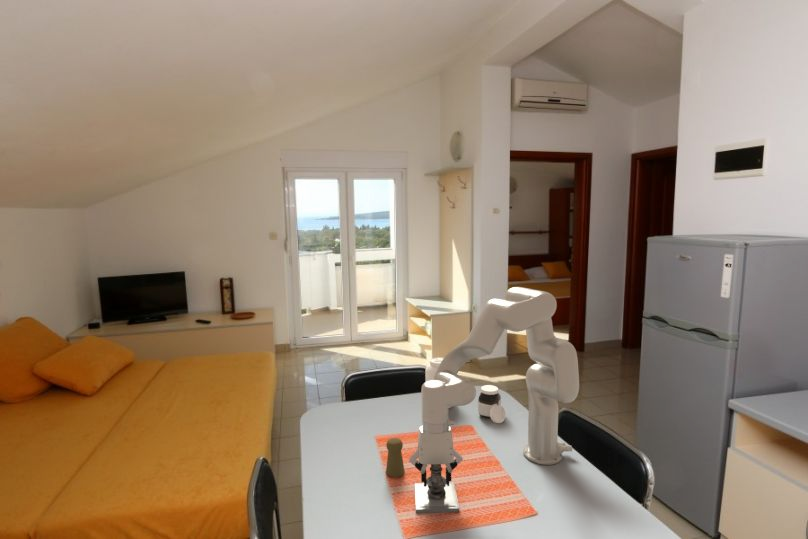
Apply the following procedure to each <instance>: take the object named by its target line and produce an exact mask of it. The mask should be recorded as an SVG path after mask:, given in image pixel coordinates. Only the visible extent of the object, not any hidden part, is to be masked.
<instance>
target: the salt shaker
mask: <svg viewBox="0 0 808 539" xmlns="http://www.w3.org/2000/svg"><path fill="white" fill-rule="evenodd" d="M429 471H430V476H429V477H427V485H428V488H429V490H428V491H427V493H428V495H429V496H430V497H432V498H442V497H444V496H445V494H446V492H445V490H444V487H445V484H446V477H444V476H443V475H442V471H443V467H442V464H431V465H430V467H429Z"/></svg>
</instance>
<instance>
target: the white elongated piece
mask: <svg viewBox="0 0 808 539" xmlns="http://www.w3.org/2000/svg"><path fill="white" fill-rule="evenodd" d="M443 358H444V357H443V356H442V357H440V356H439V357H437V356H436V357H432V358H431V359H430V360H429V363H428V364H427V365H426V368H425V373H424V374H425V382H426V381H429V380H433V379H434V376H435V373H436V371H437V369H438V367H439V365H440V364H441V362H442V360H443ZM451 408H452V407H448V409H451Z"/></svg>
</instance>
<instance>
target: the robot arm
mask: <svg viewBox="0 0 808 539" xmlns="http://www.w3.org/2000/svg"><path fill="white" fill-rule="evenodd" d="M557 306H558V305H557V299H556V298H555V296H554V295H553V294H552V293H550V292H548V291H544V290H539V289H533V288H527V287H523V286H513V287H511V288H509V289H507V291H506V292H505V299H504V298H491V299H489V300H488V301H486V303H485V304H484V306H483V309H482V310H481V312H480V314H479V315H478V318H477V319H476V322H475V323H474V325H473V327H472V328H471V331H470V332H469V335H468V336H467V337H466V339H465V340H464V341H462V342H461V343H458V344H457V345H456V346H454V348H452V349H451V350H450V351H449V352H447V354H446V355H444V357H443V360H442V362H441V364H440V365H439V367H438V369H437V371H436V373H435V376H434V379H433V380H429V381H426V380H425V382H424V383H423V384H422V385H421V392H420V393H421V419H422V420H421V426H420V427H419V430H418V435H417V437H418V438H417V449H416V450H415V451H414V452H413V453H412V454H411V455H410V456H409V463H410V464H411V465H413V466H414V468H416V469H417V470H418V471H419V472H420V476H421V477H420V478H421V481H420V482H421V483H424V487H426V486H427V478H428V477H427V467H428V465H429V466H431V464H441V465H445V479H446V484H447V486H449V483H450V482H452V473H453V471H454V470H455V468H457V467H458V465H459V464H460V463H461V462H463V458H464V457H463V456H462V455H461V454H460V453H459V452H458V450H456V448H455V447H454V439H453V431H452V427H451V426H452V425H454V422H455V421H454V419H450V418H449V408H448V407H451V408H452V407H463V406H467V405H469V404H471V403H472V402H473V401H474V400H475V398H476V395H477V389H476V386H475V384H474V383H472V382H471V381H470V380H468V379H466V378H464V377H462V376H461V375H458V374H459V372H460V370H461V368H462V367H463V366H464V365H465V364H466V363H468V362H469V361H472V360H474V359H478V358H481V357H487V356H490V355H491V354H493V352H494V351H495V349H496V347H497V345H498V343H499V341H500V339H501V337H502V335H503V333H504V331H506V330H508V331H510V332H515V333H518V332H519V333H520V332H522V331H525V335H526V336H525V337H526V345H527V353H528V356H529V358H530V359H531V360H532V361H533V362H535V363H534V364H532V365H530V366H529V367H528V369H527V371H526V374H525V383H526V387H527V394H528V424H527V425H528V430H527V431H528V432H527V433H528V434H527V439H528V440H527V444H526V445H525V446H524V447H523V452H522V453H523V456H524V457H525V458H526V459H528V461H529V462H532V463H535V464H539V465H544V466H546V465H547V466H550V465H555V464H558V463H560V462H561V461H562V459H563V452H568V453H569V452H573V447H572V445H570V444H569V445H566V442H559V441H558V440H559V439H558V436H559V432H558V431H559V430H558V429H559V428H558V427H559V403H562V404H569V403H572V402H574V401H575V400H576V399H577V397H578V395H579V391H580V376H579V363H578V362H579V361H578V354H577V353H578V352H577V350H576V348H575V346H574V345H573V344H572V342H569V341H567V340H566V339H562V338H558V337H556V336H555V334H554V327H553V320H552V317H553V316H554V315H555V313H556V310H557V308H558V307H557ZM417 459H418V460H417Z"/></svg>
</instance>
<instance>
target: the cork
mask: <svg viewBox="0 0 808 539" xmlns="http://www.w3.org/2000/svg"><path fill="white" fill-rule="evenodd" d="M403 445H404V444H403V441H402V439H400V438H398V437H390V438H389V439H388V440H387V441H386V446H385V447H386V449H387V460H386V468H385V475H387V476H388V477H390V478H393V479H395V478H400V477H402V476H403V475H405V466H404V459H403V453H402V449H403Z"/></svg>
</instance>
